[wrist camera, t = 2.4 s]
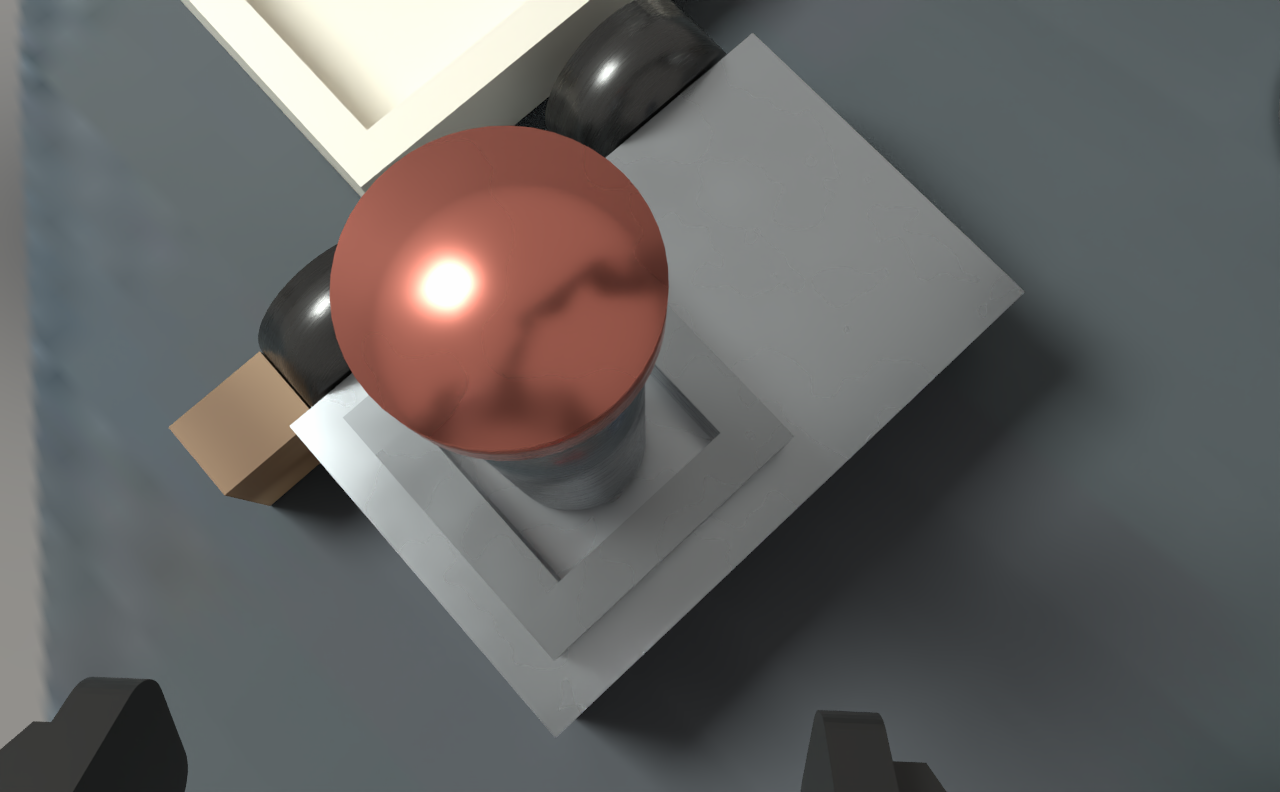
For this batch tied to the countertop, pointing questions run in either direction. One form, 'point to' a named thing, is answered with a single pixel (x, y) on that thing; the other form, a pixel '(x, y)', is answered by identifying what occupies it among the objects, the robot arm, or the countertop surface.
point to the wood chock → (249, 434)
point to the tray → (399, 66)
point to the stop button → (508, 307)
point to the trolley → (672, 359)
